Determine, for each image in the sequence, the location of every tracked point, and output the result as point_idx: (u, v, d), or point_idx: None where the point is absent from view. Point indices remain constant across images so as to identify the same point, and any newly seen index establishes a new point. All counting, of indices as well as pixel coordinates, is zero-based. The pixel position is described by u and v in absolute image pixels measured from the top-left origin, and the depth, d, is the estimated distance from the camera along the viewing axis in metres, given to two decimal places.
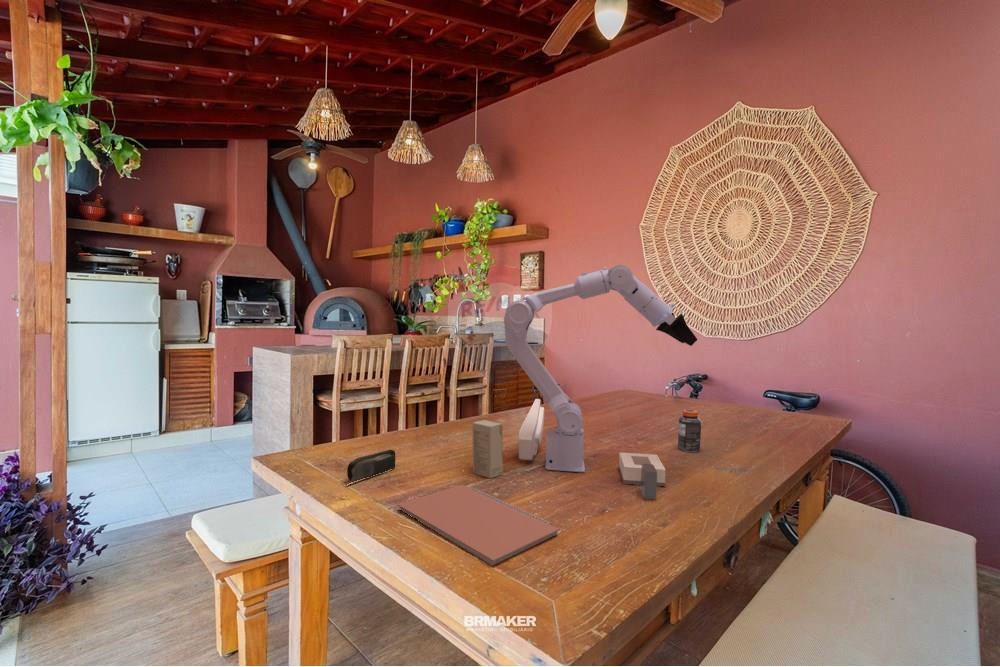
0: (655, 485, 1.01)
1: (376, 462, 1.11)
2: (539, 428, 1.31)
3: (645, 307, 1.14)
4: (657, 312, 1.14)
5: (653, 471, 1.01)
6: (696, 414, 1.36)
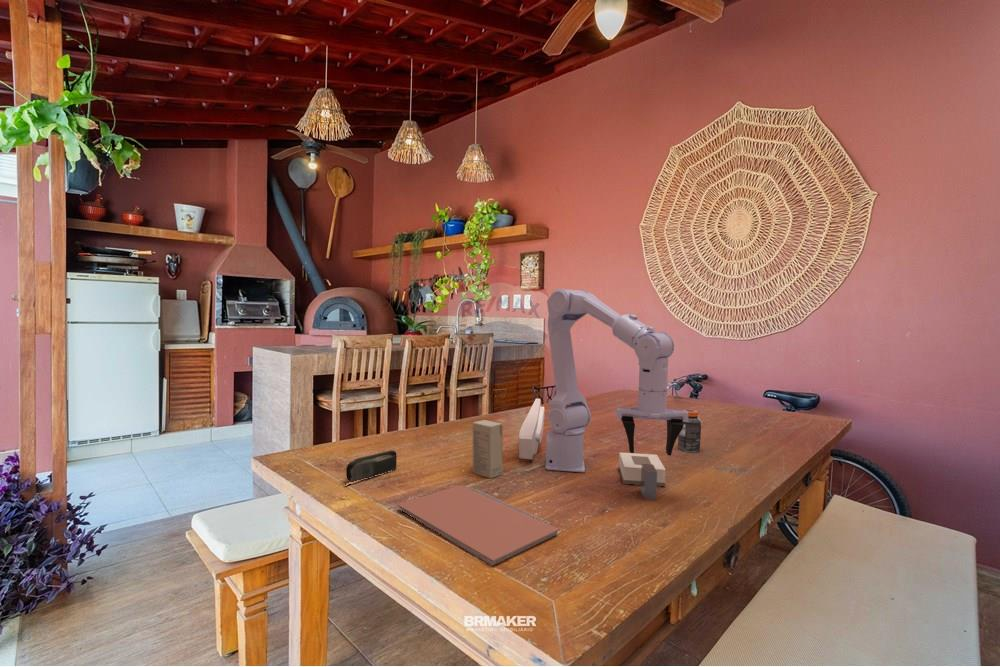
0: (655, 485, 1.01)
1: (376, 463, 1.11)
2: (539, 427, 1.32)
3: None
4: (638, 402, 1.04)
5: (653, 471, 1.01)
6: (696, 414, 1.36)
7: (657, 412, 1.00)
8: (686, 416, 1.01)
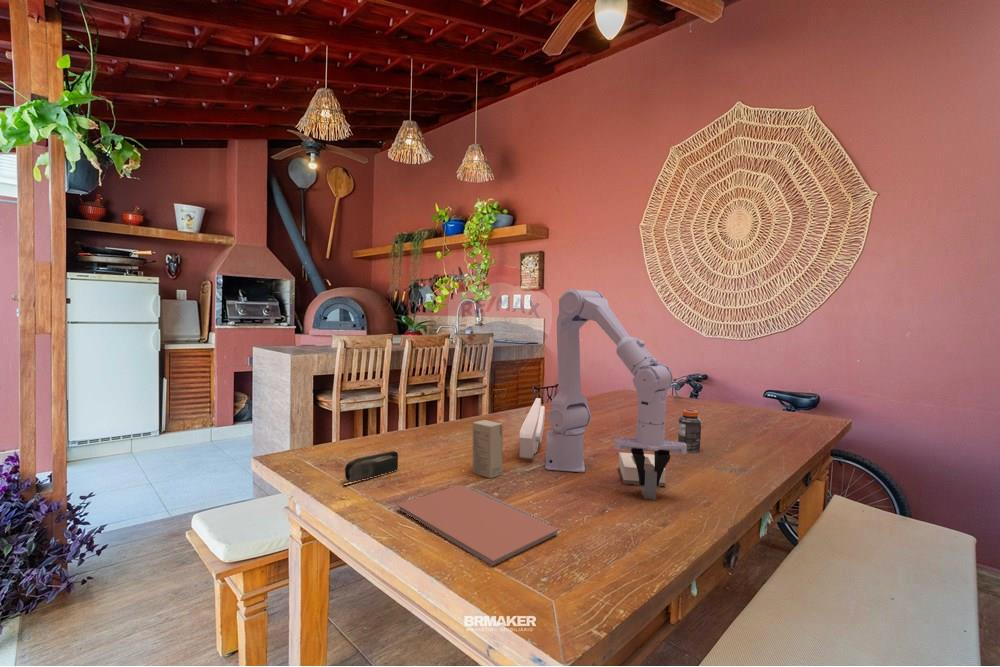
0: (655, 485, 1.01)
1: (376, 464, 1.10)
2: (540, 427, 1.33)
3: None
4: None
5: (653, 471, 1.01)
6: (696, 414, 1.36)
7: (656, 445, 1.01)
8: (684, 448, 1.02)
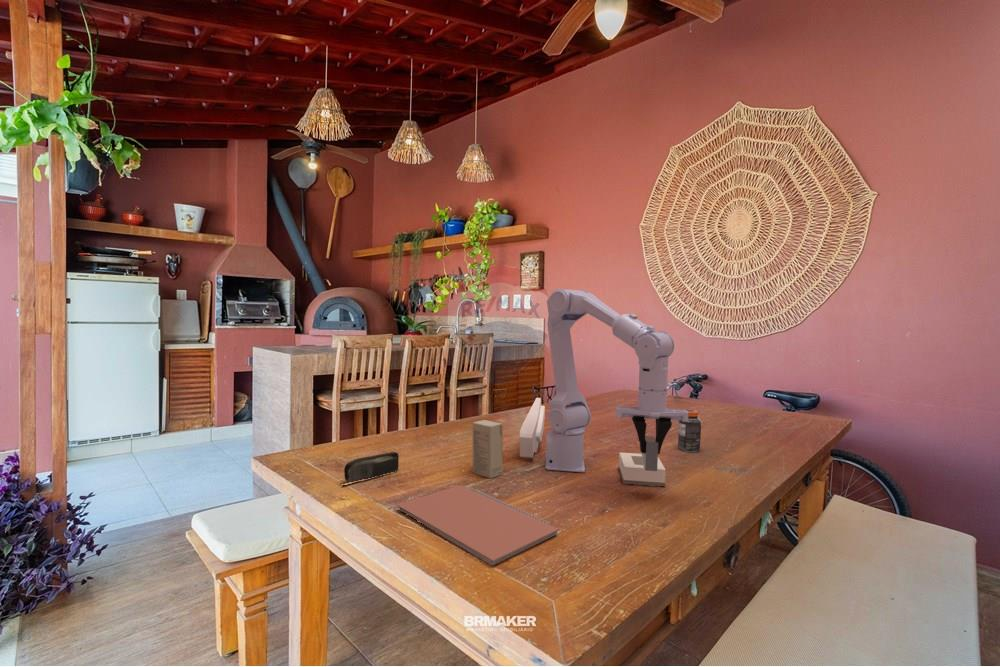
0: (656, 456, 1.01)
1: (375, 464, 1.10)
2: (540, 426, 1.34)
3: None
4: (638, 401, 1.04)
5: (654, 442, 1.01)
6: (696, 414, 1.36)
7: (657, 411, 1.00)
8: (686, 415, 1.01)
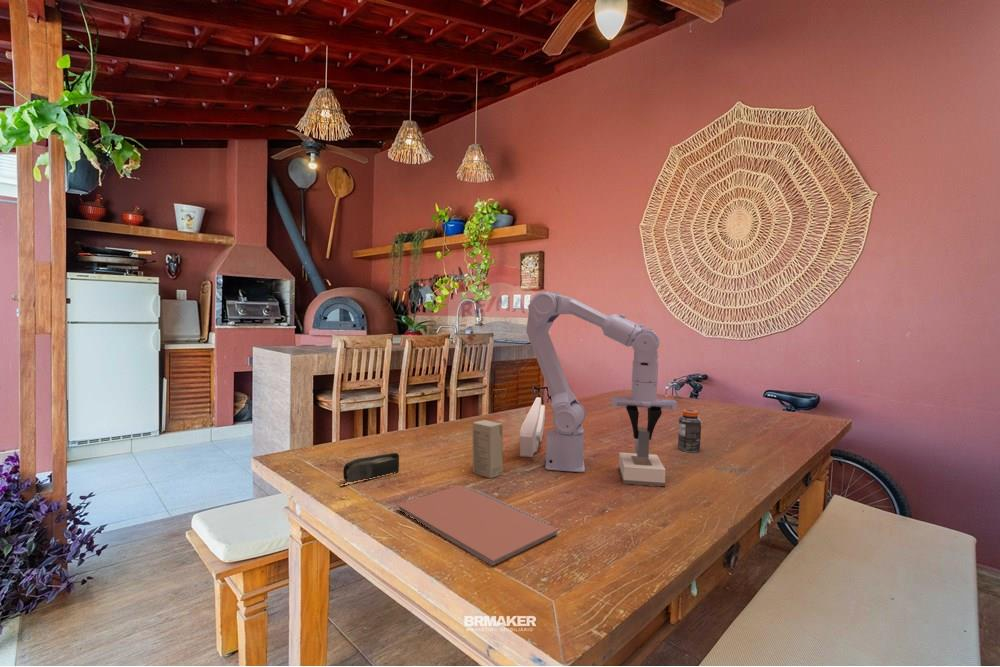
0: (648, 443, 1.12)
1: (375, 465, 1.09)
2: (540, 426, 1.34)
3: None
4: (631, 392, 1.15)
5: (645, 431, 1.12)
6: (696, 414, 1.36)
7: (648, 401, 1.11)
8: (675, 405, 1.12)
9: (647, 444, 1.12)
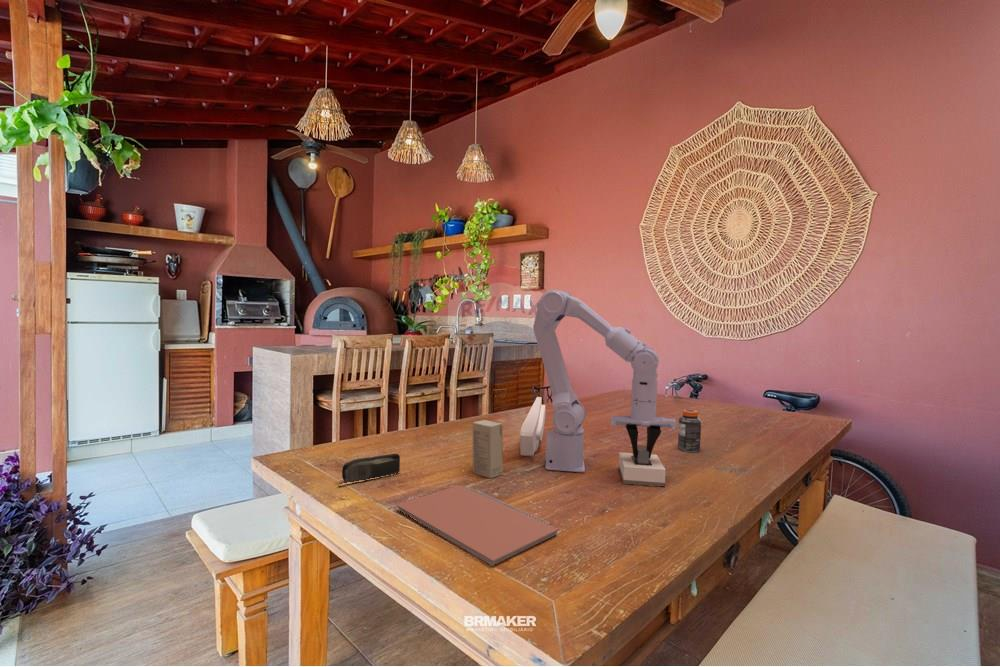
0: (647, 463, 1.12)
1: (374, 465, 1.09)
2: (540, 425, 1.35)
3: None
4: None
5: (645, 451, 1.12)
6: (696, 414, 1.36)
7: (648, 420, 1.11)
8: (674, 424, 1.12)
9: (646, 464, 1.12)
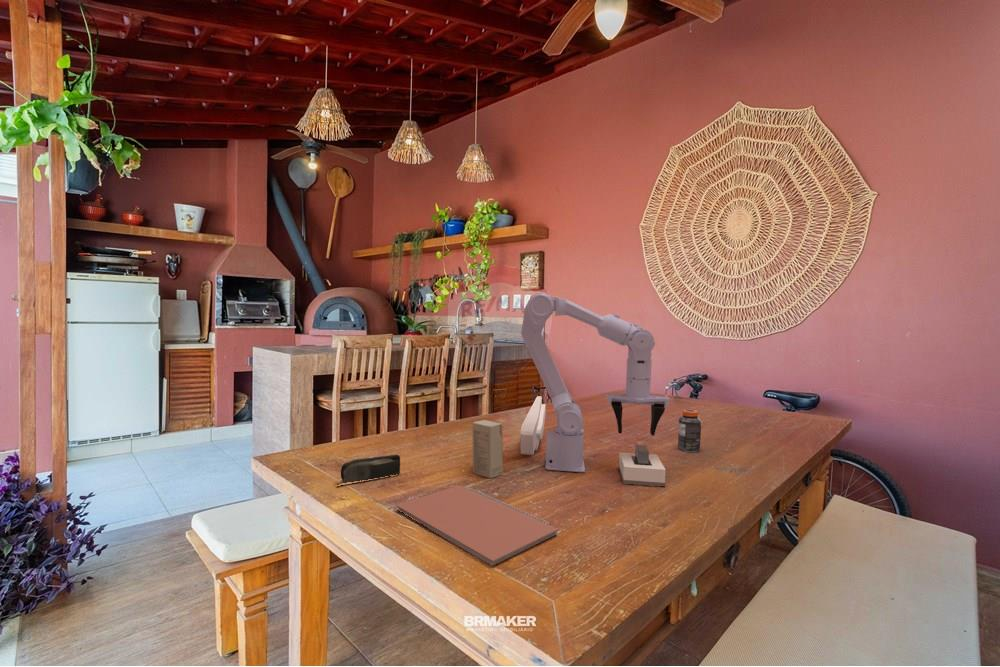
0: (647, 463, 1.12)
1: (373, 466, 1.08)
2: (540, 424, 1.36)
3: None
4: None
5: (645, 451, 1.12)
6: (696, 414, 1.36)
7: (642, 397, 1.15)
8: (667, 401, 1.16)
9: (646, 464, 1.12)
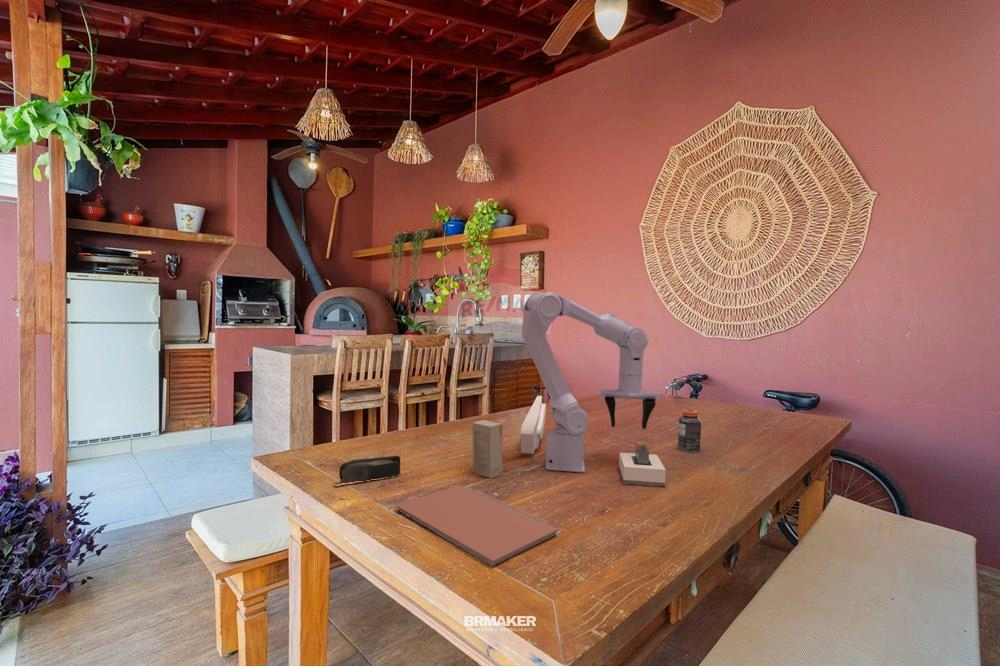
0: (647, 463, 1.12)
1: (372, 467, 1.08)
2: (540, 423, 1.36)
3: None
4: None
5: (645, 451, 1.12)
6: (696, 414, 1.36)
7: (634, 392, 1.21)
8: (658, 396, 1.22)
9: (646, 464, 1.12)
